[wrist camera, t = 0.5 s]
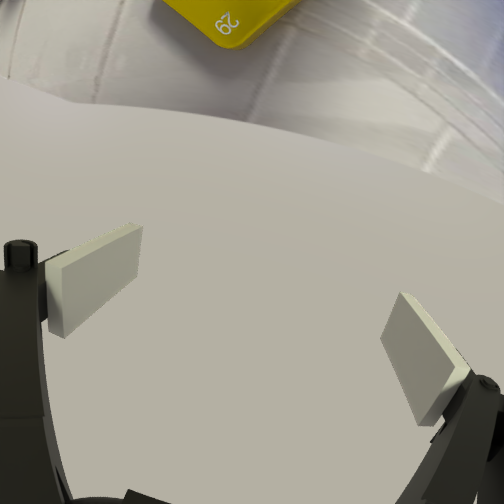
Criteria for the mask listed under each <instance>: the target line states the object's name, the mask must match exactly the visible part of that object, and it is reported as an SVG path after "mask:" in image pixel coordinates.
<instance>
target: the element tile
mask: <svg viewBox="0 0 504 504" xmlns="http://www.w3.org/2000/svg"><path fill="white" fill-rule="evenodd" d="M162 1H164V2H165V3H166V4H168V5H169V6H170V7H171V8H173V9H174V10H175V11H177V12H178V13H179V14H180V15H182V16H183V17H184V18H185V19H187V20H188V21H189V22H190V23H192V24H193V25H194V26H195V27H196V28H198V29H199V30H200V31H201V32H202V33H204V34H205V35H206V36H207V37H208V38H209V39H211V40H212V41H213V42H214V43H215V44H216V45H218V46H220V47H223V48H226V49H232V50H240V49H243V48H246V47H247V46H249V45H250V44H251V43H252V42H253V41H254V40H255V39H257V38H258V37H259V36H260V35H261V34H262V33H263V32H264V31H266V30H267V29H268V28H269V27H270V26H271V25H272V24H274V23H275V22H276V21H277V20H278V19H280V18H281V17H282V16H283V15H284V14H286V13H287V12H288V11H289V10H290V9H292V8H293V7H294V6H295V5H297V4H298V3H299V2H300V1H302V0H162Z"/></svg>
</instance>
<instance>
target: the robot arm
mask: <svg viewBox="0 0 504 504" xmlns="http://www.w3.org/2000/svg"><path fill="white" fill-rule="evenodd" d="M142 229H143V226H140V225H136V224H133V223H128V224H126V225H124V226H121V227H119V228H117V229H114V230H112V231H110V232H108V233H106V234H103V235H101V236H99V237H97V238H95V239H93V240H90V241H88V242H86V243H84V244H82V245H80V246H78V247H75V248H73V249H71V250H66V251H63V252H61V253H59V254H57V255H55V256H52V257H51V258H49V259H46V260H44V261H42V262H40V263H38V246H37V244H36V243H35V242H33V241H29V240H13V241H9V242H7V243H6V244H5V245H4V265H5V269H4V271H3V270H0V504H170V503H167V502H164V501H161V500H158V499H155V498H152V497H149V496H146V495H143V494H141V493H138V492H135V491H133V490H130V489H128V490H127V492H126V495H125V497H124V499H119V498H110V497H87V498H79V499H74V500H73V497H72V494H71V492H70V489H69V486H68V483H67V480H66V477H65V473H64V469H63V466H62V462H61V458H60V454H59V450H58V445H57V441H56V436H55V431H54V426H53V421H52V415H51V410H50V403H49V397H48V390H47V383H46V374H45V365H44V354H43V341H42V328H41V322H42V321H44V320H45V319H46V318H48V329H49V332H51V333H53V334H55V335H57V336H59V337H62V338H64V339H65V338H66V337H67V336H68V335H69V334H70V333H72V332H73V331H74V330H75V329H76V328H77V327H78V326H80V325H81V324H82V323H83V322H84V321H85V320H86V319H87V318H89V317H90V316H91V315H92V314H93V313H95V312H96V311H97V310H98V309H99V308H100V307H102V306H103V305H104V304H105V303H106V302H107V301H109V300H110V299H111V298H112V297H113V296H114V295H115V294H117V293H118V292H119V291H121V290H122V289H123V288H124V287H125V286H126V285H128V284H129V283H130V282H131V281H133V280H134V279H135V278H136V277H137V271H138V262H139V252H140V245H141V237H142ZM380 339H381V341H382V344H383V346H384V348H385V350H386V352H387V354H388V357H389V359H390V361H391V363H392V366H393V368H394V370H395V372H396V375H397V377H398V379H399V382H400V384H401V386H402V389H403V391H404V393H405V396H406V398H407V400H408V403H409V405H410V407H411V410H412V412H413V415H414V417H415V420H416V422H417V425H418V426H434V425H435V423H436V422H437V421H438V419H439V418H440V416H441V415H443V417H444V419H445V422H444V424H443V425H442V426H441V428H440V429H439V430H438V432H437V433H436V435H435V436H434V437H433V439H432V440H431V441H430V443H432V445H431V446H430V448H429V450H428V452H427V454H426V455H425V457H424V459H423V461H422V462H421V464H420V466H419V467H418V469H417V471H416V473H415V474H414V476H413V477H412V479H411V481H410V482H409V484H408V485H407V487H406V488H405V490H404V491H403V493H402V495H401V496H400V497H399V499H398V500H397V502H396V503H395V504H473V503H474V500H475V497H476V494H477V504H504V395H502V394H500V388H499V386H498V384H497V383H496V382H494V381H493V380H492V379H491V378H489V377H486V376H484V375H476V374H475V373H474V372H473V370H472V369H471V368H470V366H469V365H468V363H466V361H465V359H464V358H463V357H462V355H461V354H460V353H459V352H458V350H457V349H456V348H455V347H454V346H453V345H452V343H451V342H450V341H449V339H448V338H447V337H446V336H445V334H444V333H443V332H442V331H441V329H440V328H439V327H438V326H437V324H436V323H435V322H434V320H433V319H432V318H431V317H430V316H429V314H428V313H427V312H426V311H425V310H424V308H423V307H422V306H421V305H420V303H419V302H418V301H417V300H416V299H415V298H414V296H413V295H411V294H407V293H403V292H399V295H398V297H397V300H396V303H395V305H394V307H393V310H392V312H391V315H390V317H389V319H388V322H387V324H386V326H385V329H384V331H383V333H382V335H381V338H380ZM477 492H478V493H477Z"/></svg>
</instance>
